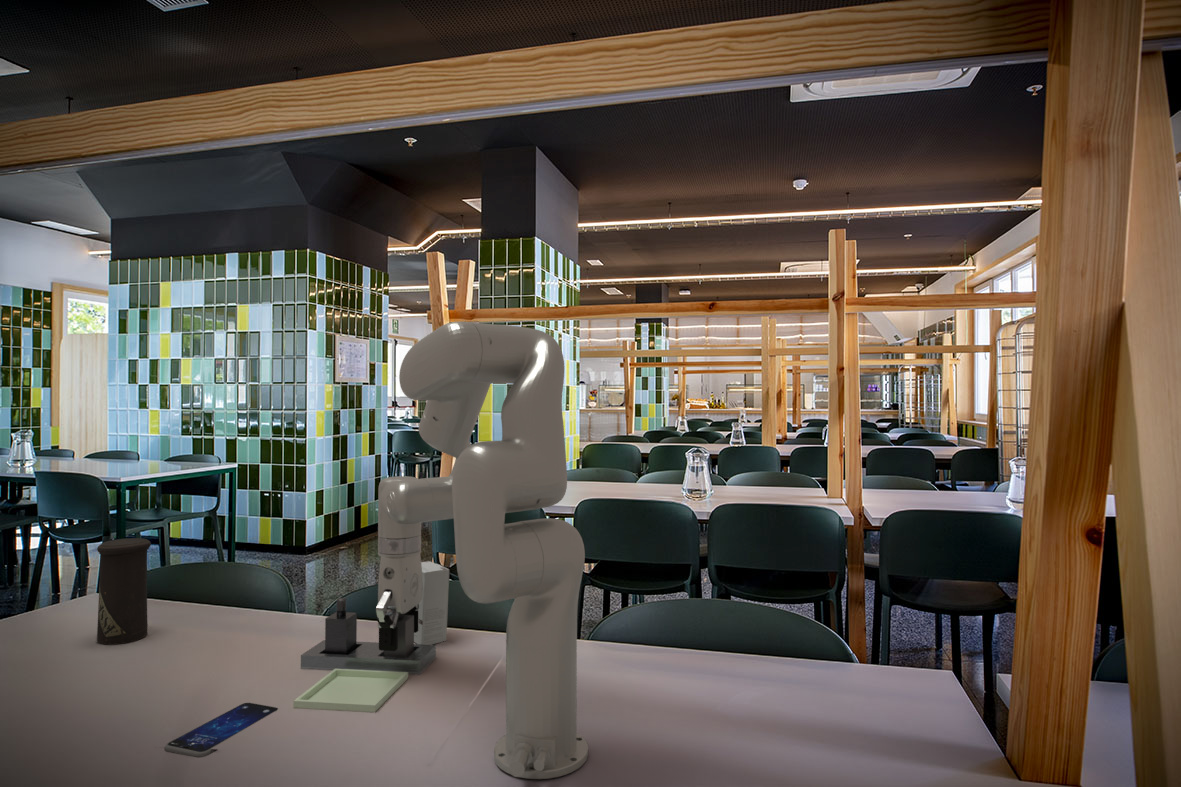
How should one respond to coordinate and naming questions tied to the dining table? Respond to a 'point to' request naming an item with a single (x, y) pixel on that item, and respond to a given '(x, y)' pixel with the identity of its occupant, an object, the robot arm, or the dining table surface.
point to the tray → (351, 690)
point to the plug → (403, 637)
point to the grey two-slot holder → (359, 649)
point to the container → (122, 591)
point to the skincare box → (433, 605)
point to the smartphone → (218, 730)
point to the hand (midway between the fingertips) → (399, 640)
